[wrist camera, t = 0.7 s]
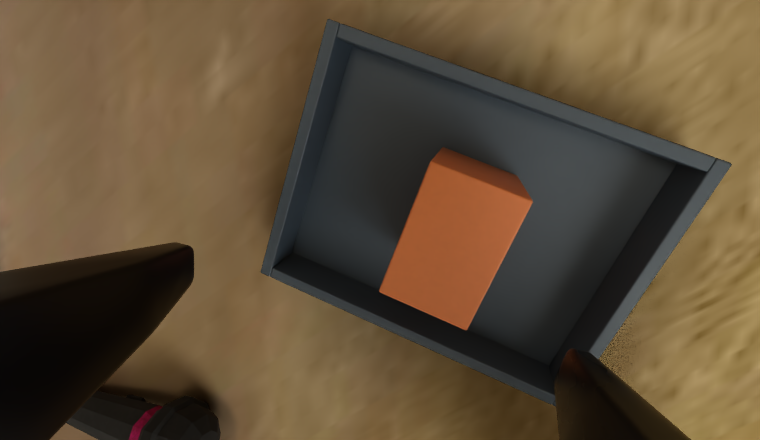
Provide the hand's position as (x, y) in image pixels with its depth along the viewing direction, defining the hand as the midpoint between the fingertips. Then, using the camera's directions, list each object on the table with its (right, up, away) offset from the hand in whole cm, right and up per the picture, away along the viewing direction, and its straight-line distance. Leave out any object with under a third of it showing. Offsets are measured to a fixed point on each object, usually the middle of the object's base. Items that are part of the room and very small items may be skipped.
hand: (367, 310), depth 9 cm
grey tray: (+4, +3, +12) cm, 13 cm away
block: (+4, +2, +11) cm, 12 cm away
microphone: (-20, -12, +22) cm, 32 cm away
